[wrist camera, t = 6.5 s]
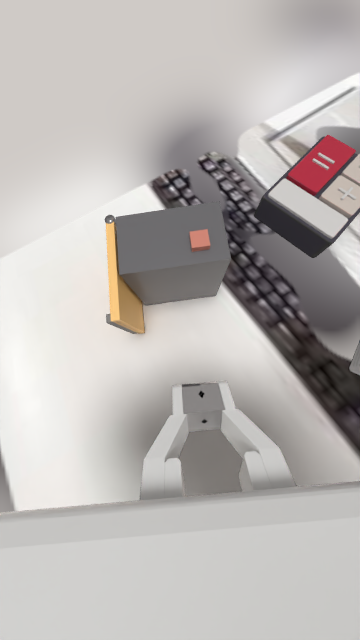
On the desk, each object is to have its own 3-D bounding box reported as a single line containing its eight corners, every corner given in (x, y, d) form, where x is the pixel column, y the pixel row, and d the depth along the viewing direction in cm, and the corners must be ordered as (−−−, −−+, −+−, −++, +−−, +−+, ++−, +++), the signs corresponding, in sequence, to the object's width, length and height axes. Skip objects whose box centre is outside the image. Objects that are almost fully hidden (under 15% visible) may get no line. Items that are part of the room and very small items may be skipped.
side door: (145, 332, 25) (120, 319, 16) (134, 334, 25) (104, 321, 16) (139, 260, 27) (114, 214, 18) (128, 262, 27) (99, 216, 18)
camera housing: (215, 295, 26) (232, 255, 16) (145, 305, 26) (116, 271, 16) (207, 248, 27) (218, 183, 17) (141, 258, 28) (112, 199, 17)
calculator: (398, 168, 25) (337, 240, 22) (367, 196, 29) (313, 259, 26) (327, 128, 27) (264, 191, 24) (308, 160, 31) (252, 216, 28)
